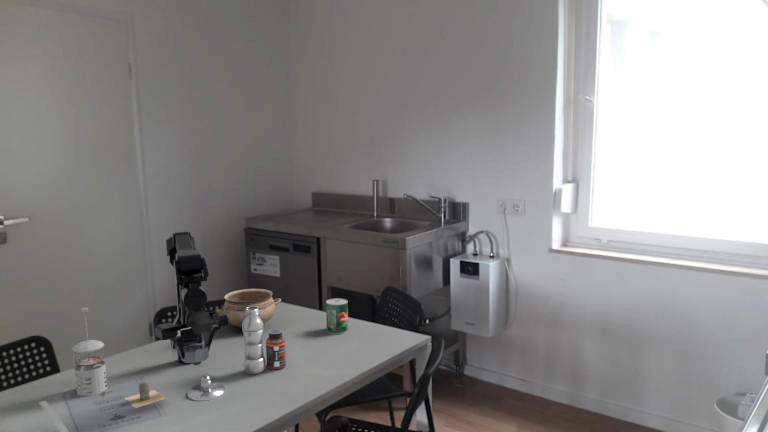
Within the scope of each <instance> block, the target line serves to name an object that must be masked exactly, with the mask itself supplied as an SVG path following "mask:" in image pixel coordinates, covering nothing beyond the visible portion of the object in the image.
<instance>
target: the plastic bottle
mask: <svg viewBox="0 0 768 432" xmlns="http://www.w3.org/2000/svg"><path fill="white" fill-rule="evenodd" d="M258 314H259V312H258V307H248V308H246V315H247V317H246V318H245V320H244V321H243V324H242V328H241V329H242V335H243V340H244V359H243V368H244V370H245V372H246V373H247V374H249V375H250V374H251V375H255V374H256V375H257V374H259V373H260V374H261V373H262V372H264V370H265V368H266V359H265V354H264V353H265V352H264V347H263V337H264V336H263V335H264V324H263V322H262V320H261V319H260V317H259V316H258Z"/></svg>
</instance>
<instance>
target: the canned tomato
mask: <svg viewBox="0 0 768 432" xmlns="http://www.w3.org/2000/svg"><path fill="white" fill-rule="evenodd" d="M348 302H349V301H348V299H346V298H339V297H335V298H330V299H327V300H326V301H325V304H326V305H325V308H326V314H325V315H326V332H327V333H328V334H331V335H342V334H346V333H348V331H349V308H348V307H349V305H348Z"/></svg>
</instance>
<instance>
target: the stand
mask: <svg viewBox="0 0 768 432" xmlns="http://www.w3.org/2000/svg"><path fill="white" fill-rule="evenodd" d="M138 389H139V393H138V394H134V395H132V396H128V397H125V398H124V399H125V401H126V402H128V403H129V404H130V405H131V406H132V407H133V408H134V409H138V408H141V407H144V406H147V405H150V404H154V403H157V402H160V401H164V400H166V398H165V397H164V396H163V395H161V393H159V392H158V391H157V390H155V389H151V390H150V386H149V383H148V382H147V381H142V382H140V384H139V386H138Z"/></svg>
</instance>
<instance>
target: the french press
mask: <svg viewBox="0 0 768 432" xmlns="http://www.w3.org/2000/svg"><path fill="white" fill-rule="evenodd" d="M89 311H90V310H89V307H87V306H86V307H82V308H81V309H80V312H81V313H84V319H85V322H84V323H85V329H86V340H83V341H81V342H78V343H76V344H75V345H74V346H72V347H71V350H72V351H73V354H72V363H73V367H74V373H75V374H74V377H75V386H76V387H75V388H76V394H77V395H78V396H82V397H88V396H89V397H90V396H95V395H98V394H101V393H103V392H105V391H106V390H107V389H108V381H107V372H106V371H107V369H106V362H105V361H104V356H101V355H90V353H92V352H96V351H99V350H101V349H103V348H104V346H105V343H104V342H103V341H100V340H95V339H89V335H88V323H87V314H86V313H88V312H89ZM75 353H76V354H77V355H78V359H76V361H75V359H74V358H75ZM81 354H88V355H87V356H83V357H80V355H81ZM96 365H97V366H96ZM83 379H84V380H83Z"/></svg>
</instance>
